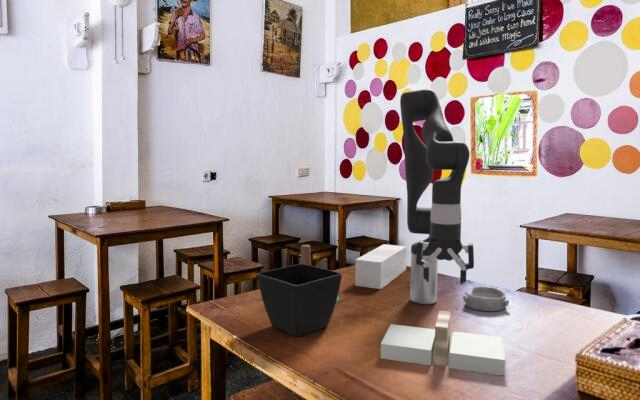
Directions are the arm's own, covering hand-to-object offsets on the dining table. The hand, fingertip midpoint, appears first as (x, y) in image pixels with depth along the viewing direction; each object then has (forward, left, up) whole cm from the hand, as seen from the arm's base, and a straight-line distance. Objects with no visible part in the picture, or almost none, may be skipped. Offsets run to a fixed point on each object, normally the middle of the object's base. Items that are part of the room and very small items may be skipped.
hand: (444, 282), depth 121 cm
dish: (-44, +11, -20) cm, 50 cm away
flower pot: (-7, -43, -20) cm, 48 cm away
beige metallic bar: (0, 0, -20) cm, 20 cm away
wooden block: (-38, -50, -20) cm, 66 cm away
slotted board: (0, 0, -20) cm, 20 cm away
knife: (-28, -40, -20) cm, 53 cm away
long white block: (-68, -30, -20) cm, 77 cm away
